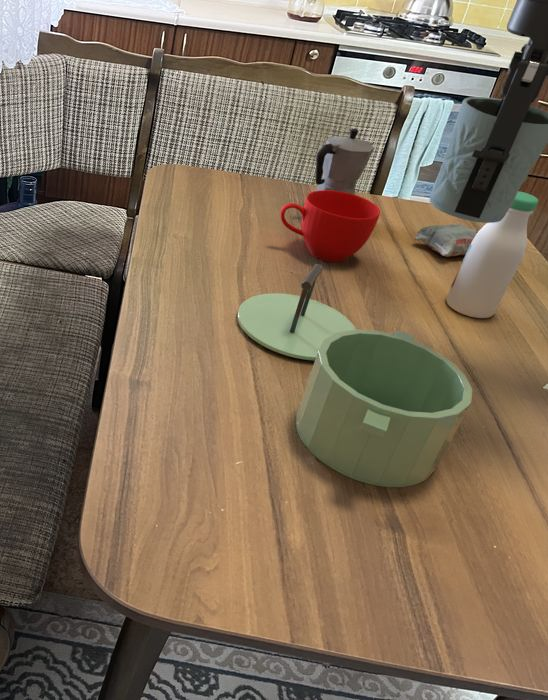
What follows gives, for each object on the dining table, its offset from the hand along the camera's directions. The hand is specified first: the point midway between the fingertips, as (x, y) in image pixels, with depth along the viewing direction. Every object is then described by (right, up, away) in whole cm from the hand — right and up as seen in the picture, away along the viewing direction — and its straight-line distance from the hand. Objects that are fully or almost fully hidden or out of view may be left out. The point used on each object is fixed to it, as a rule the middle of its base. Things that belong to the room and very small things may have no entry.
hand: (470, 201), depth 83 cm
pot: (-12, -29, +2) cm, 31 cm away
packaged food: (+25, +1, +51) cm, 56 cm away
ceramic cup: (-3, 0, +45) cm, 46 cm away
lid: (-15, -14, +21) cm, 30 cm away
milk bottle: (+18, -11, +33) cm, 39 cm away
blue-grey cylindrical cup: (0, -1, +1) cm, 1 cm away
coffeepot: (+4, +10, +61) cm, 62 cm away
